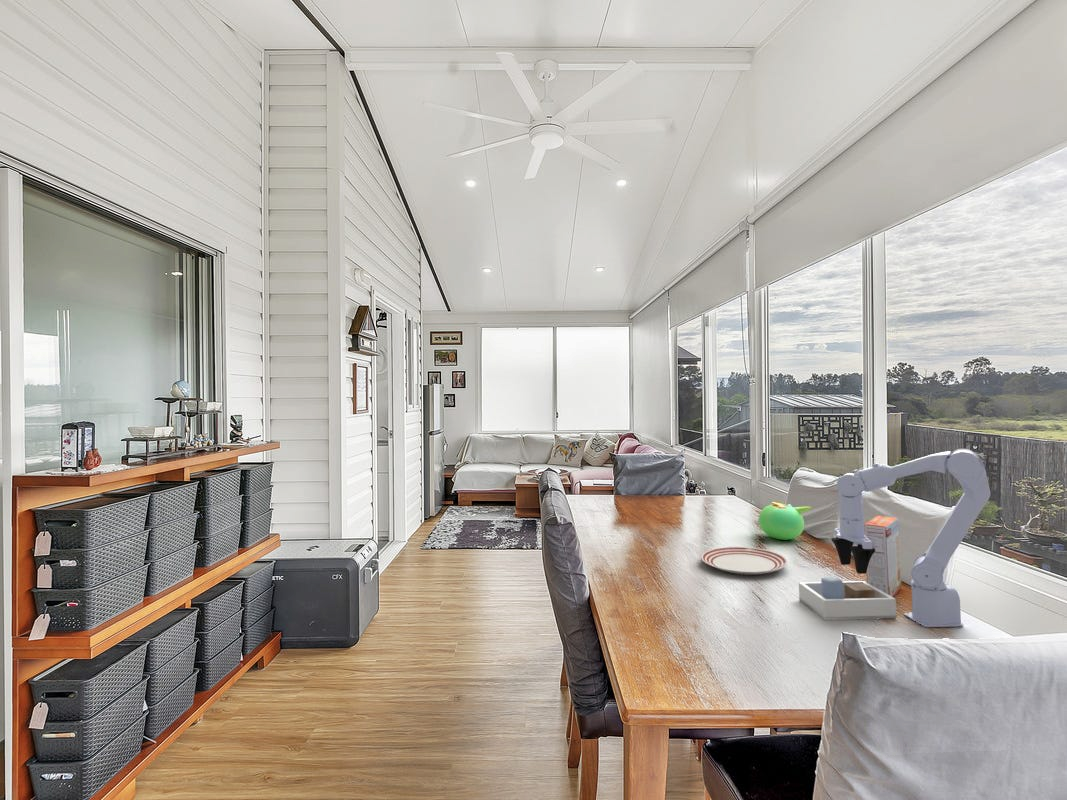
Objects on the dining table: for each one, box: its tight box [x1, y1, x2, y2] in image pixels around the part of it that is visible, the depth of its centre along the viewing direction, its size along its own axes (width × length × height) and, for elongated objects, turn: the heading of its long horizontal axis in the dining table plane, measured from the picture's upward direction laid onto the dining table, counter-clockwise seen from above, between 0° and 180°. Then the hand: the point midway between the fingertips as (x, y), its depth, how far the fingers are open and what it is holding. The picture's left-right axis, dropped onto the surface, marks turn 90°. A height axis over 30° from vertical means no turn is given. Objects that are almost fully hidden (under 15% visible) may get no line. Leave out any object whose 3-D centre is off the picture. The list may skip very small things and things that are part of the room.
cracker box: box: [864, 515, 902, 598], centre depth 156 cm, size 14×6×21 cm, turn 135°
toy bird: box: [758, 501, 812, 541], centre depth 218 cm, size 18×17×15 cm
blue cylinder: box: [820, 576, 843, 599], centre depth 146 cm, size 5×5×7 cm
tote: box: [798, 580, 897, 621], centre depth 146 cm, size 18×14×5 cm
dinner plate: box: [700, 546, 788, 576], centre depth 185 cm, size 28×27×3 cm
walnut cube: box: [845, 584, 875, 599], centre depth 145 cm, size 5×5×5 cm
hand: (853, 568), depth 146 cm, fingers open, 7 cm apart
